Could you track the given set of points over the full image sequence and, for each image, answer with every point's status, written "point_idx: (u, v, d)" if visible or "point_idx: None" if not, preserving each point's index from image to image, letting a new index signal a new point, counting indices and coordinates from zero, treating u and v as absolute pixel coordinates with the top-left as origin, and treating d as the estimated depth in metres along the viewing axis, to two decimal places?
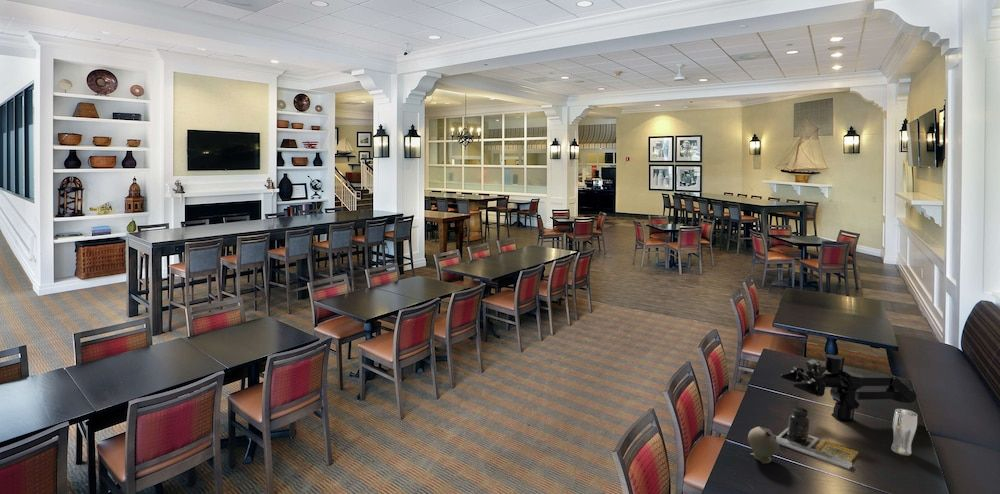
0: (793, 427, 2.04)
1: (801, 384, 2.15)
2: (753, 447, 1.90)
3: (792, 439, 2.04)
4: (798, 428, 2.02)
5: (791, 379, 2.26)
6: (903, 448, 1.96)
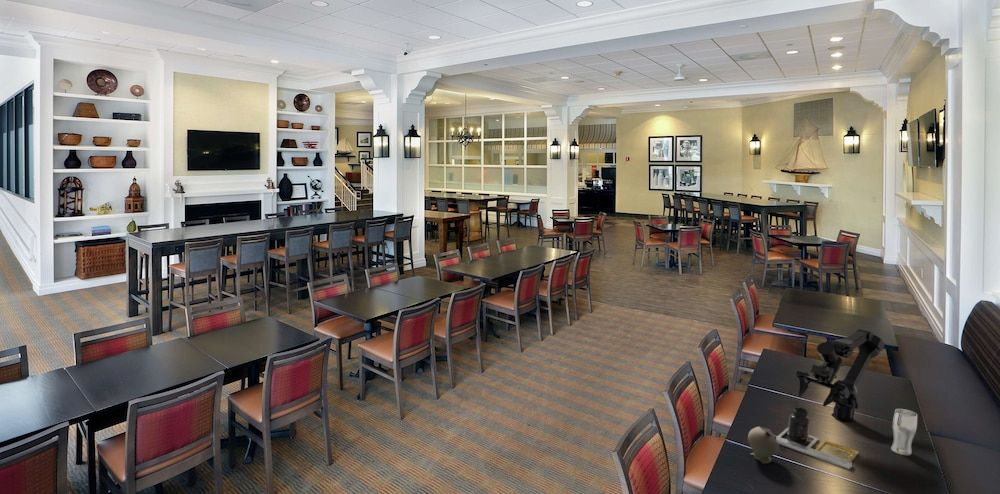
0: (793, 427, 2.04)
1: (828, 400, 2.04)
2: (753, 447, 1.90)
3: (792, 439, 2.04)
4: (798, 428, 2.02)
5: (805, 388, 2.14)
6: (903, 448, 1.96)
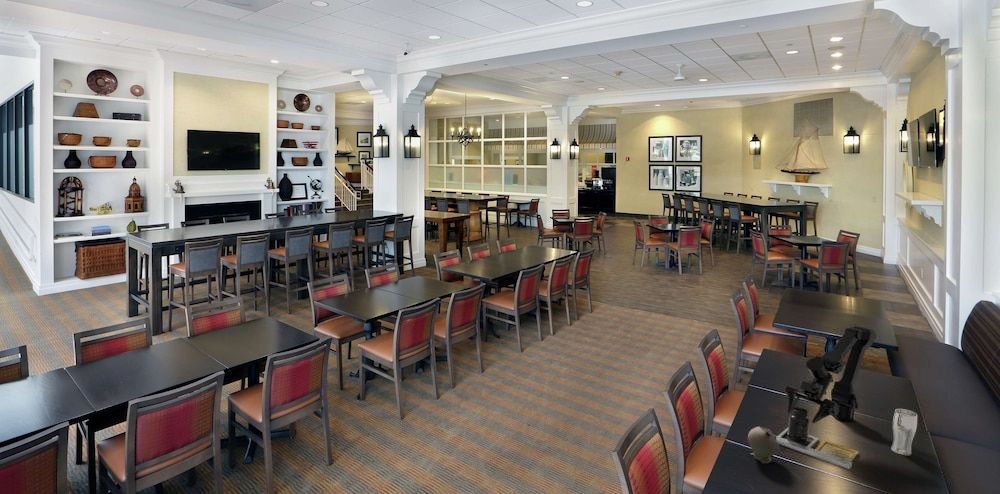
0: (793, 427, 2.04)
1: (818, 417, 2.01)
2: (753, 447, 1.90)
3: (792, 439, 2.04)
4: (798, 428, 2.02)
5: (795, 404, 2.11)
6: (903, 448, 1.96)
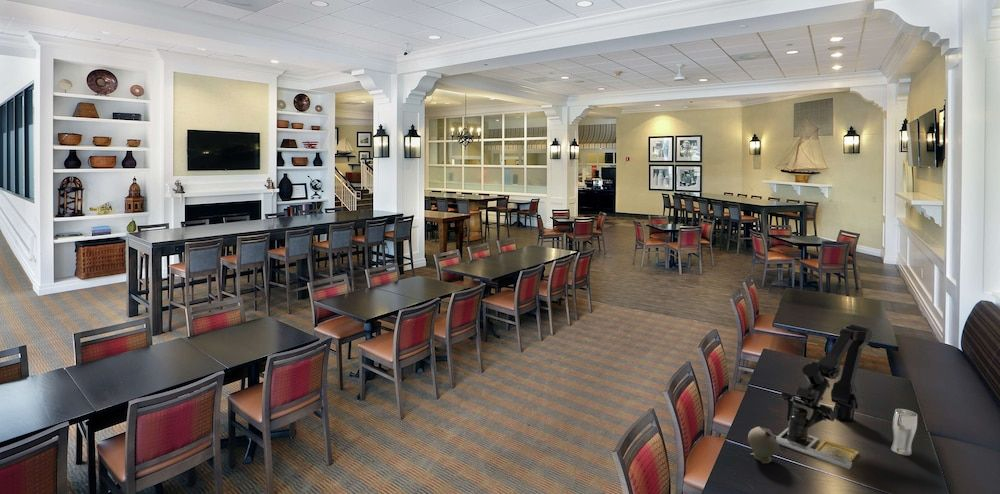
0: (793, 427, 2.04)
1: (811, 422, 2.01)
2: (753, 447, 1.90)
3: (792, 439, 2.04)
4: (798, 428, 2.02)
5: None
6: (903, 448, 1.96)
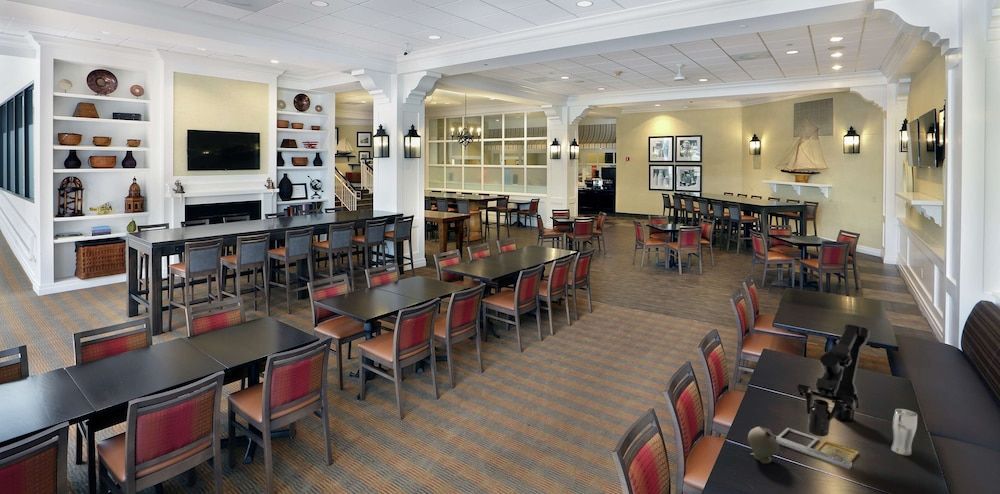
0: (815, 420, 1.97)
1: (833, 413, 1.96)
2: (753, 447, 1.90)
3: (814, 433, 1.98)
4: (821, 421, 1.96)
5: (811, 403, 2.04)
6: (903, 448, 1.96)
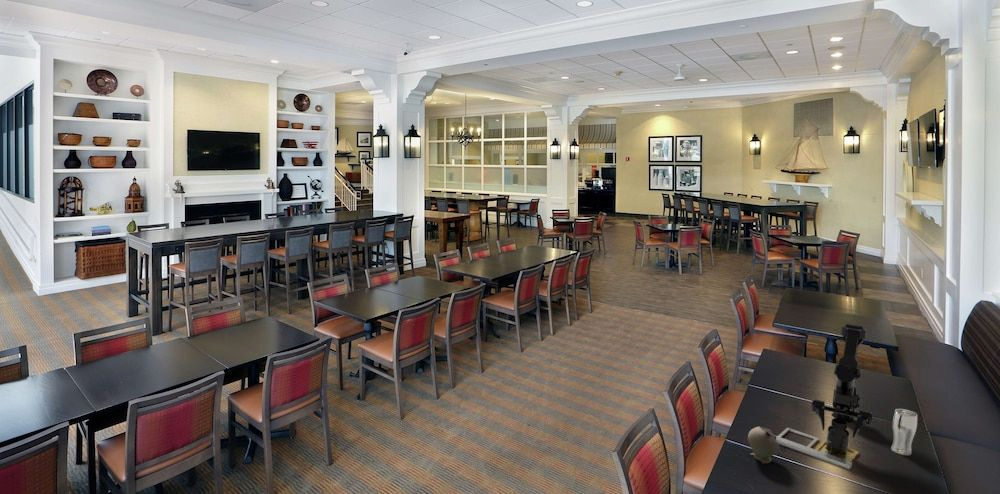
0: (836, 441, 1.94)
1: (857, 430, 1.92)
2: (753, 447, 1.90)
3: (835, 453, 1.94)
4: (842, 441, 1.93)
5: None
6: (903, 448, 1.96)
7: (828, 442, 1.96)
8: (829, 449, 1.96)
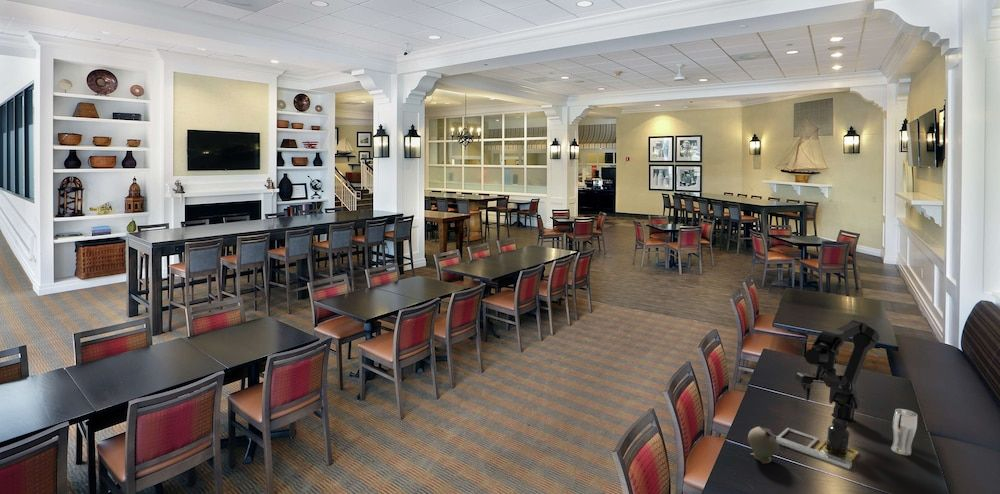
0: (836, 441, 1.94)
1: None
2: (753, 447, 1.90)
3: (835, 453, 1.94)
4: (842, 441, 1.93)
5: None
6: (903, 448, 1.96)
7: (828, 442, 1.96)
8: (829, 449, 1.96)
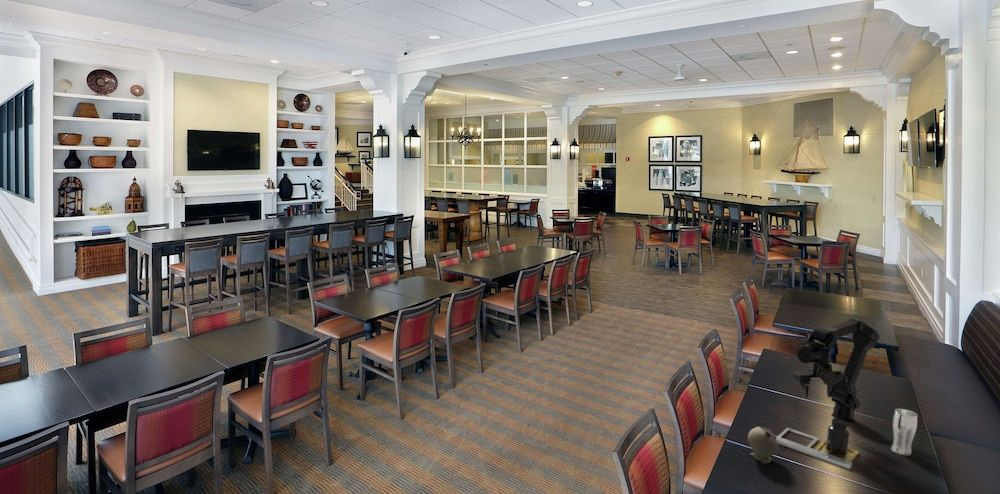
0: (836, 441, 1.94)
1: None
2: (753, 447, 1.90)
3: (835, 453, 1.94)
4: (842, 440, 1.93)
5: None
6: (903, 448, 1.96)
7: (828, 442, 1.96)
8: (829, 449, 1.96)
